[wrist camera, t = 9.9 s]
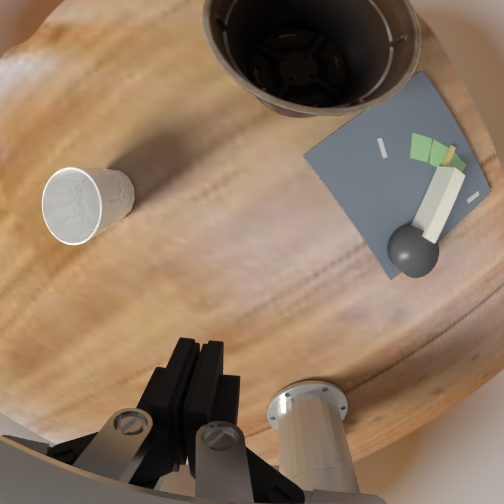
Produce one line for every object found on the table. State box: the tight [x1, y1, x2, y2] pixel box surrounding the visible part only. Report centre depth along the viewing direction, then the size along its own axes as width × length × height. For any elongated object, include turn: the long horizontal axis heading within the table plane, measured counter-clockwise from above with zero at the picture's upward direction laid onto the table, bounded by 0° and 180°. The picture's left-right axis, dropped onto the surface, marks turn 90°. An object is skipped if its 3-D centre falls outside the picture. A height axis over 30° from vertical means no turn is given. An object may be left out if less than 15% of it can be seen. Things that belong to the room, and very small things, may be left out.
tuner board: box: [303, 70, 491, 280], centre depth 34 cm, size 19×20×1 cm
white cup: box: [42, 167, 135, 245], centre depth 32 cm, size 8×8×10 cm
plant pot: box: [202, 0, 422, 118], centre depth 25 cm, size 16×16×16 cm
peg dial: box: [387, 145, 465, 278], centre depth 33 cm, size 17×6×4 cm, turn 156°
